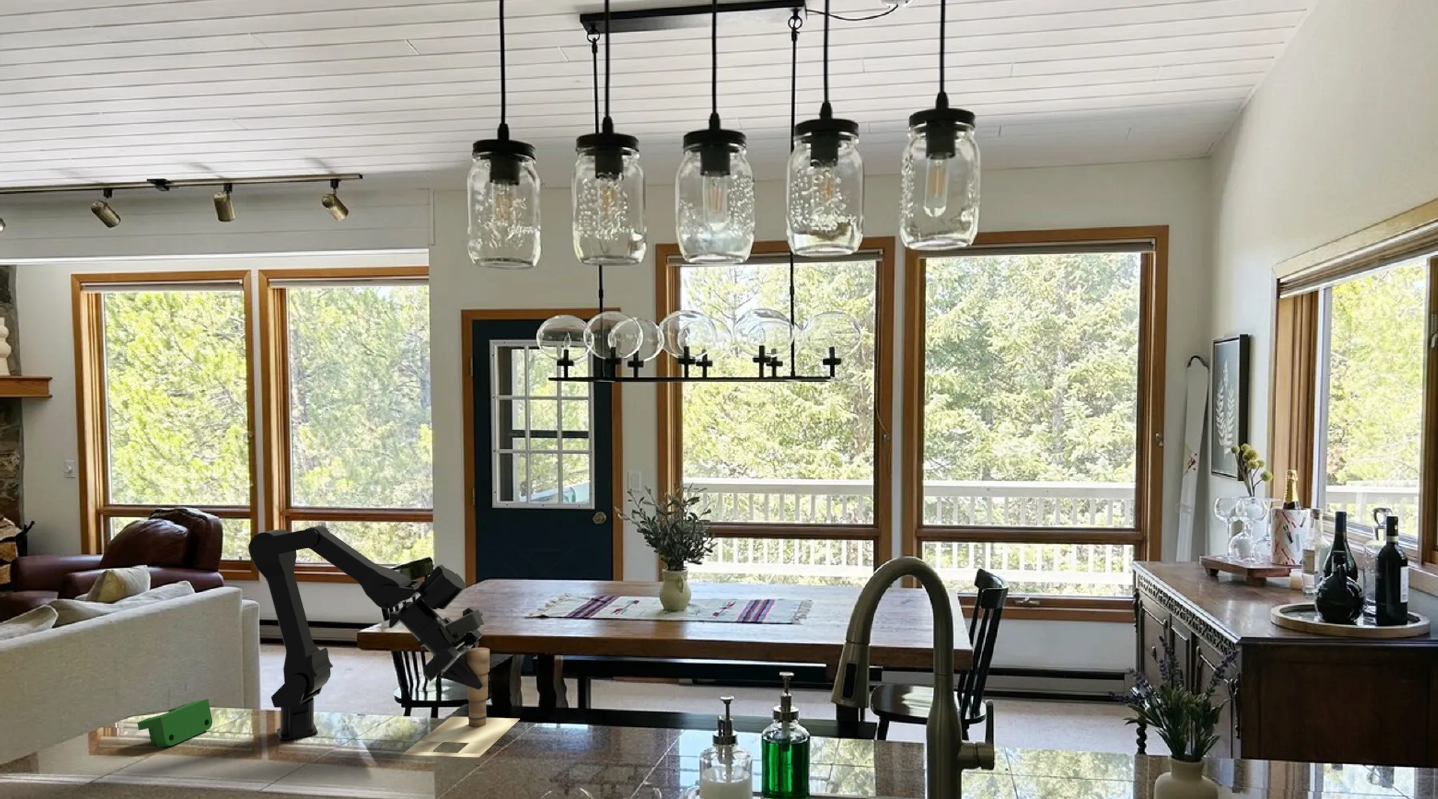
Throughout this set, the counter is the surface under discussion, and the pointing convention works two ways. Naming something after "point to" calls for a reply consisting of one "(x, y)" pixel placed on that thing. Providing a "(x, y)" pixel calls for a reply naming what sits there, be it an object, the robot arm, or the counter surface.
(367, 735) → the counter surface
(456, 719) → the board
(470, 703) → the peg
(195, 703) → the green mounting bracket
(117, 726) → the counter surface
